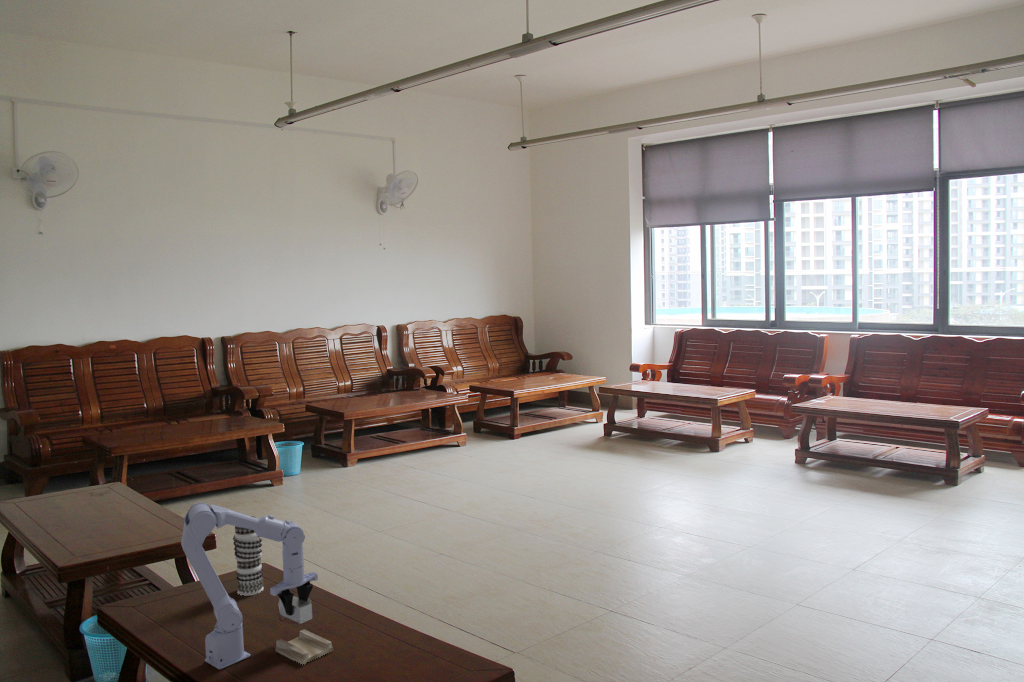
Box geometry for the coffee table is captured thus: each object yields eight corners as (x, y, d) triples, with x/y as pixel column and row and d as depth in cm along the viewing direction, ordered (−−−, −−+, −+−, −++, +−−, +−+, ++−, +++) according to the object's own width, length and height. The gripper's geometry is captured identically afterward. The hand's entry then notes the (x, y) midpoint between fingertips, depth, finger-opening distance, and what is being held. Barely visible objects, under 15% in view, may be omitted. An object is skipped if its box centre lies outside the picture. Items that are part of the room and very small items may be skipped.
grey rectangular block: (300, 623, 219) (299, 608, 219) (279, 614, 225) (279, 599, 225) (312, 618, 222) (311, 603, 222) (291, 609, 228) (291, 594, 228)
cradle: (302, 665, 210) (302, 655, 210) (275, 651, 219) (275, 641, 219) (333, 651, 218) (332, 641, 218) (305, 637, 226) (305, 628, 226)
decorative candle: (249, 583, 268) (245, 512, 266) (270, 587, 265) (266, 515, 262) (230, 593, 260) (225, 520, 258) (251, 597, 256) (247, 523, 254)
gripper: (306, 555, 230) (308, 599, 232) (263, 570, 219) (265, 616, 221) (321, 560, 226) (323, 605, 227) (277, 576, 215) (280, 623, 216)
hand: (295, 611), depth 224 cm, fingers closed on grey rectangular block, 4 cm apart
